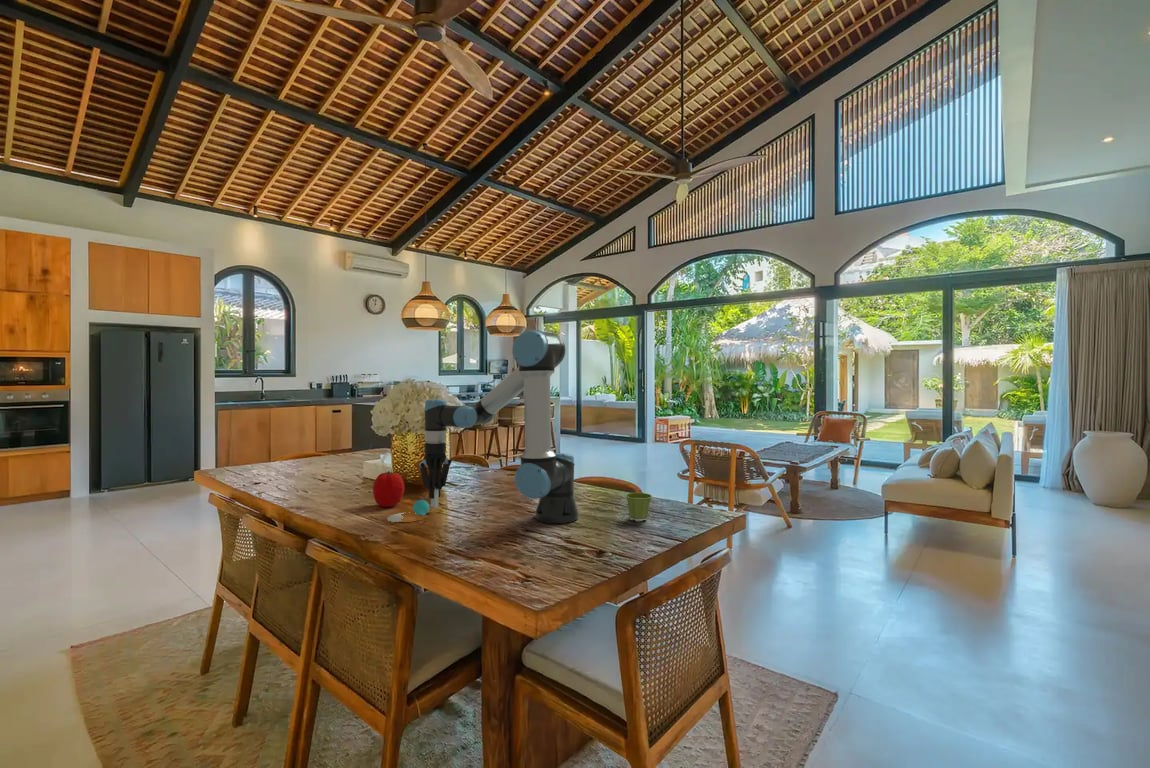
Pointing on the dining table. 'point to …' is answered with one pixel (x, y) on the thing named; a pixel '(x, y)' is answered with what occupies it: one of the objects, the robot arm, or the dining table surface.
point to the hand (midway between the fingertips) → (434, 506)
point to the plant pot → (638, 505)
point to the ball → (421, 507)
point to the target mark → (395, 517)
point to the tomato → (388, 489)
